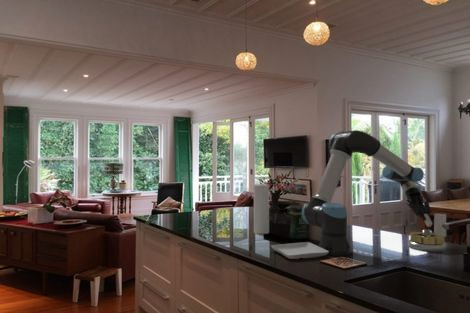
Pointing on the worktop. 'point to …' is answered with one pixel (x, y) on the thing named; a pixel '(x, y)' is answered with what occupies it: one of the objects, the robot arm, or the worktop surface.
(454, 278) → the worktop surface
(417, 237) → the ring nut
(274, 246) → the salad plate
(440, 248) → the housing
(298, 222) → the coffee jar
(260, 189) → the cylinder container
